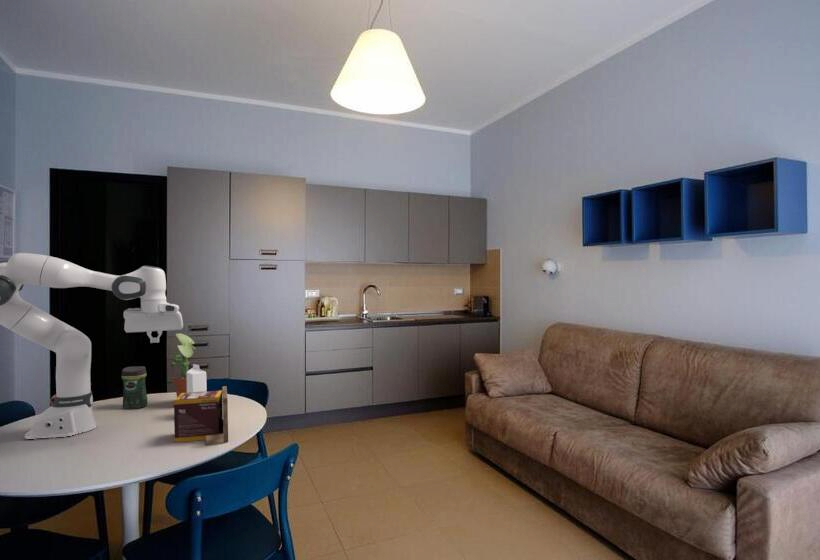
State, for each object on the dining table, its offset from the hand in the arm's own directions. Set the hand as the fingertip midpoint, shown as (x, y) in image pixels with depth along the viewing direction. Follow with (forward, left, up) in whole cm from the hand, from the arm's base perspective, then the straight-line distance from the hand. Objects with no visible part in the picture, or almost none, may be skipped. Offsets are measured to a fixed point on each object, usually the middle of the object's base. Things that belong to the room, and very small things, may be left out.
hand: (154, 342), depth 187 cm
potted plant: (+10, +32, -34) cm, 48 cm away
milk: (+14, +12, -34) cm, 39 cm away
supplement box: (+16, -15, -34) cm, 41 cm away
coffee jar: (-13, +38, -34) cm, 53 cm away
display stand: (+22, -17, -34) cm, 44 cm away
